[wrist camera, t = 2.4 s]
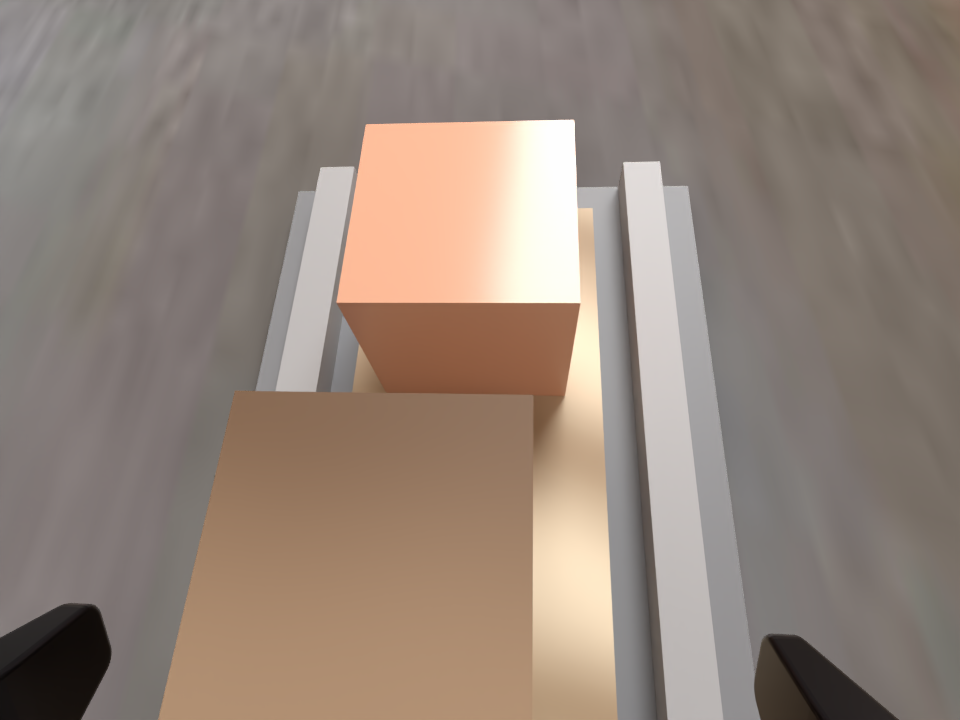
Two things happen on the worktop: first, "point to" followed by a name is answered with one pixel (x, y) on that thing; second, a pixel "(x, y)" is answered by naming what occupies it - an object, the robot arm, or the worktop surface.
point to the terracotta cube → (465, 257)
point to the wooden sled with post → (406, 554)
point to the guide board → (626, 424)
